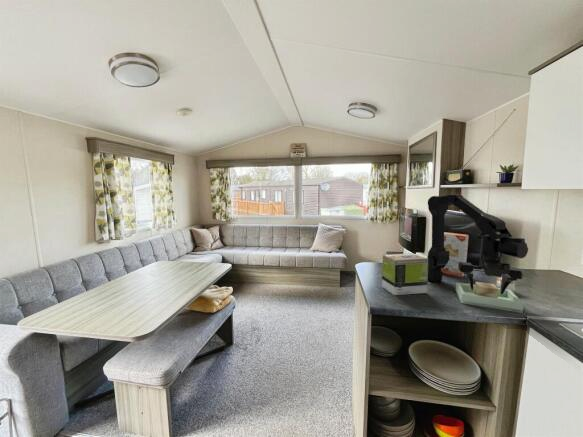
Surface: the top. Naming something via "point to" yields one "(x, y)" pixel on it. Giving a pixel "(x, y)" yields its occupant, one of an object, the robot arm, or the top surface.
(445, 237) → the cracker box
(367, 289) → the top surface
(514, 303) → the green tote
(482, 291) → the oak block
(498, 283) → the cream tub
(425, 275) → the tea box
